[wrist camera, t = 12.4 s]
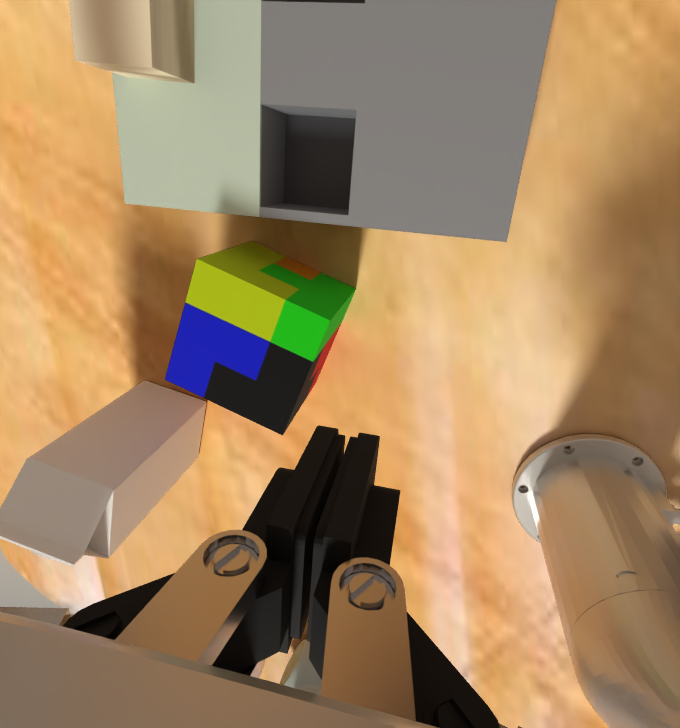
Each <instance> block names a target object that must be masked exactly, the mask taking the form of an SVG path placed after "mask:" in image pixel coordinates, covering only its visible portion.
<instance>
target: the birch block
mask: <svg viewBox="0 0 680 728" xmlns="http://www.w3.org/2000/svg"><path fill="white" fill-rule="evenodd" d="M69 6H70V16H71V27H72V37H73V48H74V58H75V61H78V62H81V63H84V64H88V65H91V66H94V67H97V68H100V69H103V70H106V71H110V72H113V73H116V74H119V75H122V76H125V77H131V78H142V79H152V80H163V81H174V82H184V83H195V75H194V0H69Z"/></svg>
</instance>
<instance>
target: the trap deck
mask: <svg viewBox="0 0 680 728" xmlns="http://www.w3.org/2000/svg"><path fill="white" fill-rule="evenodd" d="M555 4H556V0H194V75H195V83H184V82H174V81H163V80H152V79H142V78H131V77H125V76H122V75H119V74H116V73H113V72H112V73H113V83H114V94H115V105H116V115H117V126H118V136H119V147H120V157H121V168H122V178H123V189H124V199H125V204H134V205H144V206H154V207H164V208H174V209H184V210H194V211H204V212H214V213H224V214H234V215H244V216H254V217H264V218H274V219H284V220H294V221H304V222H313V223H323V224H333V225H343V226H353V227H363V228H373V229H383V230H393V231H403V232H413V233H423V234H433V235H443V236H453V237H463V238H473V239H483V240H493V241H503V242H507V237H508V233H509V228H510V223H511V218H512V213H513V208H514V203H515V198H516V194H517V189H518V184H519V179H520V174H521V169H522V164H523V160H524V155H525V150H526V145H527V140H528V135H529V130H530V126H531V121H532V116H533V111H534V106H535V101H536V96H537V92H538V87H539V82H540V77H541V72H542V67H543V62H544V58H545V53H546V48H547V43H548V38H549V33H550V28H551V23H552V19H553V14H554V9H555Z"/></svg>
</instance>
